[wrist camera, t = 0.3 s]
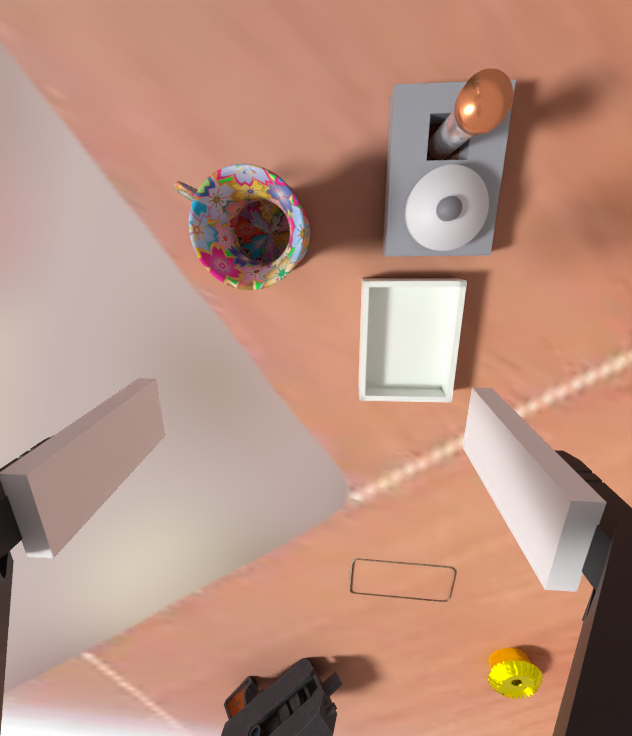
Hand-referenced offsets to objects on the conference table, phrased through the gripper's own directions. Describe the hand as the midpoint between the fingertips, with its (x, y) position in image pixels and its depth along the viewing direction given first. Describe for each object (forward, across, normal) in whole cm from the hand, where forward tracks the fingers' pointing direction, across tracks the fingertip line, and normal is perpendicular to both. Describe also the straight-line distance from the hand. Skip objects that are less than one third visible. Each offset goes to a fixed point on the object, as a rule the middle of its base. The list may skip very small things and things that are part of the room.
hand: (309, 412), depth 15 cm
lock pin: (+27, +10, +15) cm, 33 cm away
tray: (+27, +8, -4) cm, 28 cm away
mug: (+27, -8, +8) cm, 29 cm away
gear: (+27, +29, -56) cm, 69 cm away
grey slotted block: (+27, +10, +12) cm, 31 cm away
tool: (+27, -7, -64) cm, 70 cm away
